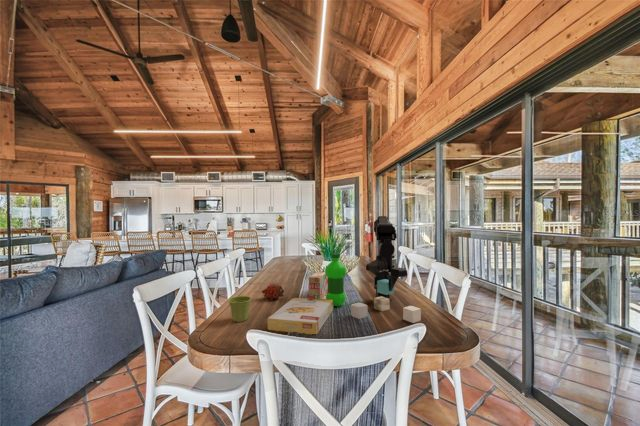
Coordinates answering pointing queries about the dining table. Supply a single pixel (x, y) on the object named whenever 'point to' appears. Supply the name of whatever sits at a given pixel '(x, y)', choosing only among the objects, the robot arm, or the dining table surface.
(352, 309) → the pale grey cube
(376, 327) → the dining table surface
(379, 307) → the light ash cube
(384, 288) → the teal cube
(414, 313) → the cream cube
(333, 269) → the plastic bottle
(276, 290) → the dragon fruit
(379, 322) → the dining table surface
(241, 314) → the plant pot
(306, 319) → the cereal box
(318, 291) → the printed food carton
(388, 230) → the robot arm
